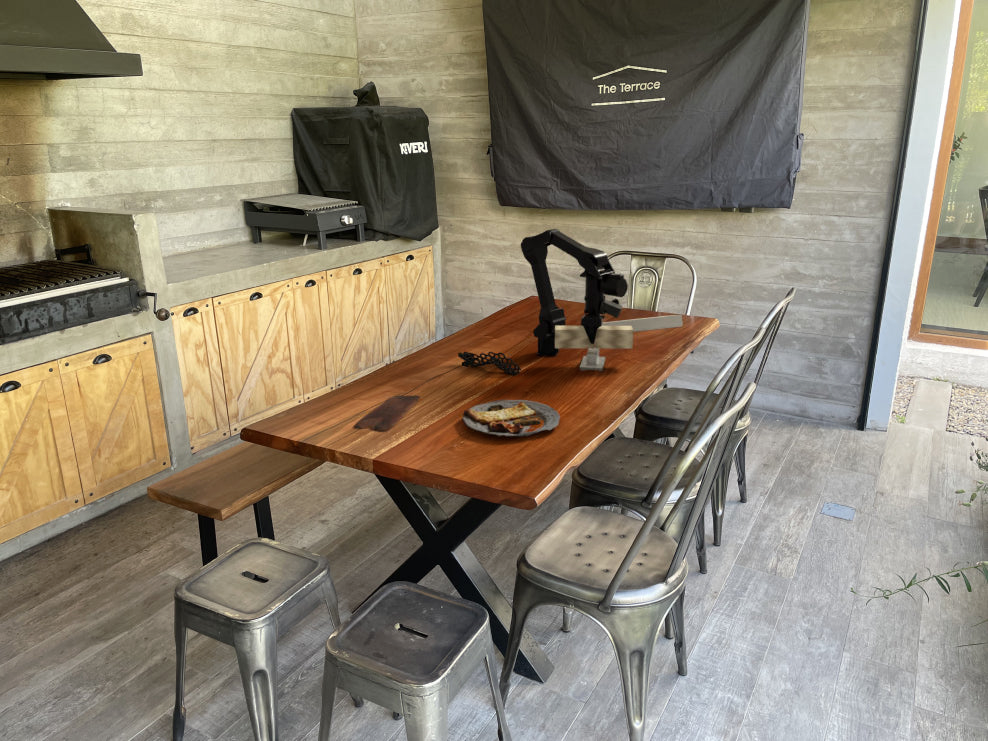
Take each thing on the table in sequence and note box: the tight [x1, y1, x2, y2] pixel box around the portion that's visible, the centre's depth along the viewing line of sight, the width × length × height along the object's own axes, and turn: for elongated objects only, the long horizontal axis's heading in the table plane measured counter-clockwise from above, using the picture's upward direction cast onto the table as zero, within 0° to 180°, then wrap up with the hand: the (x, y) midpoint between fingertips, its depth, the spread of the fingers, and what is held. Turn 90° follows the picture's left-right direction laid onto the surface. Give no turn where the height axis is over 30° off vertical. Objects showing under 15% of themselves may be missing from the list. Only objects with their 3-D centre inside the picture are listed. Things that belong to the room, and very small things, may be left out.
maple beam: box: [555, 325, 634, 350], centre depth 235 cm, size 24×5×6 cm, turn 86°
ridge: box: [579, 348, 606, 372], centre depth 237 cm, size 7×12×5 cm, turn 167°
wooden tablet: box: [354, 395, 421, 433], centre depth 202 cm, size 26×2×10 cm
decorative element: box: [457, 351, 522, 376], centre depth 235 cm, size 22×5×6 cm, turn 56°
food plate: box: [461, 399, 561, 438], centre depth 193 cm, size 25×23×4 cm
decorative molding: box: [602, 314, 683, 333], centre depth 280 cm, size 34×5×10 cm
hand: (593, 341), depth 236 cm, fingers closed on maple beam, 5 cm apart
